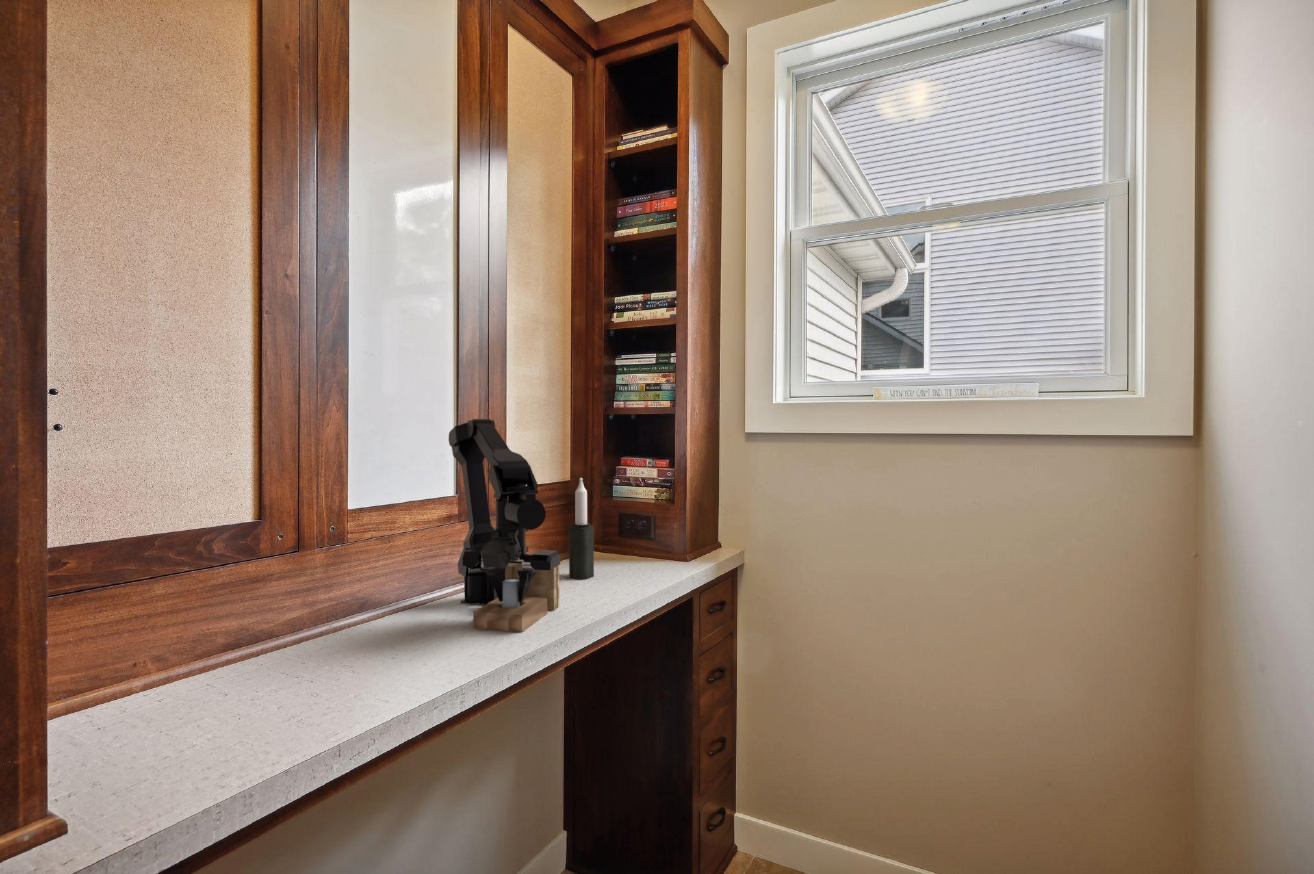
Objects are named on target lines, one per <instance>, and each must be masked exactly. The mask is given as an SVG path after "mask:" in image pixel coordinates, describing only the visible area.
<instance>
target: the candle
mask: <svg viewBox="0 0 1314 874" xmlns="http://www.w3.org/2000/svg"><path fill="white" fill-rule="evenodd" d="M578 480H579V482H578V485H577V488H576V490H575V492H574V496H575V497H574V500H575V503H574V504H575V505H574V506H575V507H574V508H575V510H574V512H575V516H574V517H575V519H574V520H575V522H573V523H572V524H571V526H568V543H569V544H568V563H569V564H568V568H569V569H568V570H569V571H568V577H569V579H577V580H580V581H582V580H588V579H590V578H591V579H592V578H594V576H595V569H594V568H595V561H594V559H595V551H594V550H595V549H594V544H595V543H594V540H595V539H594V535H595V534H594V533H595V531H594V525H591V523H590V522H588V490H587V489H586V488H585V486H584V482H583V480H584V479H583V478H582V477H580V478H579V479H578Z"/></svg>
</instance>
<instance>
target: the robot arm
mask: <svg viewBox="0 0 1314 874" xmlns="http://www.w3.org/2000/svg"><path fill="white" fill-rule="evenodd" d="M448 444H449V447H451V452H452V456H453V457H454V459H456V461H457V462H458V463H459V465H460V466H461V468H462V469H461V471H462V480H463V487H464V488H463V489H464V496H465V503H466V504H465V505H466V512H467V514H466V515H467V521H468V528H469V529H468V532H467V534H466V536H465V538H464V540H463V543H462V546H463V548H462V551H461V553H460V557H459V559H458V562H457V570H458V574H459V575H461V576H462V577H463V578H464V593H463V594H464V598H463V599H462V600H460V604H466V605H467V604H469V605H470V604H471V605H483V606H484V605H486V604H488V603H490V602H491V601H493V600H495V599H497V598H498V599H499V601H500V602H502V601H503V581H505V567H507V566H508V564H509V563H521V564H522V568H521V569H519V570H518V571H517V573H518V575H519V603H522V602H523V601H524V598H525V596H526V593H527V590H528V588H529V585H530V583H531V581H532V579H533V577H534V575H535V573H536V571H537V570H551V569H553V568H555V567H556V566H558V565H559V566H560V565H561V554H560V552H559V551H558V550H550V549H549V550H548V549H541V550H538V551H536V552H534V553H529V546H527V545H526V543H527V539H526V537H527V536H526V533H527V532H529V531H532V530H533V531H534V530H537V529H538V528H539V527H540V526H541V525H543V523H544V521H545V519H546V513H547V512H546V509H545V506H544V504H543V503H542V502H541V501H540V500H539V499H536V497H537V496H536V495H537V494H539V490H538V487H539V484H538V481H537V479H536V477H535V474H534V472H533V470H532V467H531V465H530V464H529V462H528V460H527V459H525V457H523V456H522V455H521V454H520V453H518V452H515V451H512V450H511V449H510V448H509V447H508V446H509V445H507V443H506V441H505V440H504V439H503V437H502V435H501V434H500V433H499V431H498V430H497V427H496V423H495V421H494V419H490V418H472V419H470V420H468V421H467V422H463V423H462V424H458V425H455V426H454V427H453V428H451V430H450V431H449V432H448ZM485 459H486V461H487V463H488V465H489V467H488V480H489V483H490V485H491V487H492V489H493V490H494V494H493V498H495V528H494V527H493V525H492V522H491V514H490V513H491V512H490V508H489V506H490V505H489V499H488V498H489V497H488V489H487V483H486V475H485V466H484V460H485Z"/></svg>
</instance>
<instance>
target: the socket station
mask: <svg viewBox="0 0 1314 874" xmlns="http://www.w3.org/2000/svg"><path fill="white" fill-rule="evenodd" d="M521 568H522V564H521V563H509V564H508V566H507V567H505V580H511V579H515V580H519V575H518V573H517V571H518V570H519V569H521ZM519 606H520V607H519V608H517V609H515V608H503V601H502V602H500V601H499V599H498V598H497V599H495V600H493V601H491V602H490V603H488V604H486V605H483V606H481V607H479V608H477V609H476V610H474V611H473V612H472V614H473V616H472V618H473V619H472V621H473V626H472V627H473V629H477V630H489V631H503V632H513V633H514V632H516V633H524V631H526V630H527V629H529V628H530V627H532V626H533V625H534V624H536V623H537V622H538V621H539V620H541V619H542V618H544V617H545V616H546V615H548V611H555V610H557V609H558V608H560V565H558V566H556V567H555V568H553V569H551V570H537V571H536V573H535V575H534V577H533V579H532V581H531V583H530V585H529V588H528V590H527V593H526V596H525V598H524V601H523V602H522V603H519Z"/></svg>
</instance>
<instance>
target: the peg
mask: <svg viewBox="0 0 1314 874" xmlns="http://www.w3.org/2000/svg"><path fill="white" fill-rule="evenodd" d="M519 607H520V606H519V580H515V579H511V580H505V581H503V608H515V609H517V608H519Z"/></svg>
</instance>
